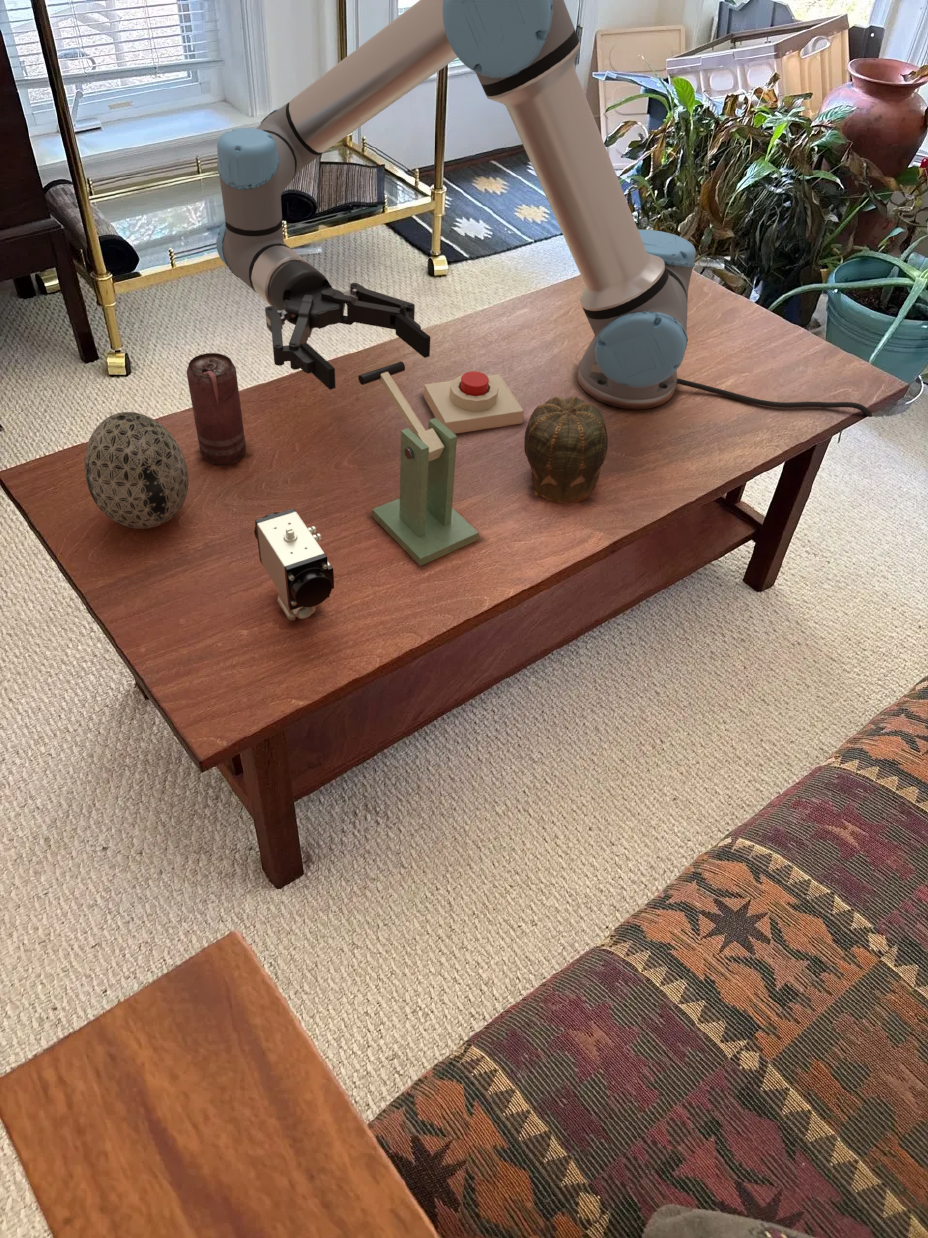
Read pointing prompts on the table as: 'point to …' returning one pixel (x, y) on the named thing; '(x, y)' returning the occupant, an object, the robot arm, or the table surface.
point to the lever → (404, 406)
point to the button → (474, 383)
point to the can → (216, 408)
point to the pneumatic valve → (294, 562)
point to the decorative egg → (135, 471)
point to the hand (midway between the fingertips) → (381, 362)
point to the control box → (473, 405)
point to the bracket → (426, 500)
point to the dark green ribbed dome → (565, 449)
